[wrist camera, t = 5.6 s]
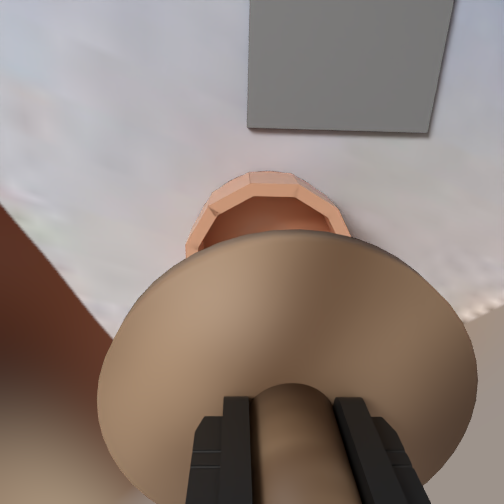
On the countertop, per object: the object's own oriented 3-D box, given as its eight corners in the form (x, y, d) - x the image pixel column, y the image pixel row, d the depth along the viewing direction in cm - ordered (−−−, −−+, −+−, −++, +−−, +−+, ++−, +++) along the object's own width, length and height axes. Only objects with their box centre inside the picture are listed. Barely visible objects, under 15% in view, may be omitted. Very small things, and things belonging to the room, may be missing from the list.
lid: (502, 234, 10) (737, 348, 5) (417, 506, 14) (507, 706, 9) (86, 224, 9) (-64, 341, 5) (125, 509, 13) (66, 723, 9)
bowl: (345, 172, 23) (365, 185, 20) (329, 305, 27) (342, 337, 23) (192, 168, 23) (182, 181, 19) (196, 304, 27) (189, 336, 23)
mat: (459, -47, 19) (464, -50, 19) (424, 132, 23) (427, 132, 22) (251, -57, 19) (251, -61, 18) (247, 127, 22) (246, 127, 22)
